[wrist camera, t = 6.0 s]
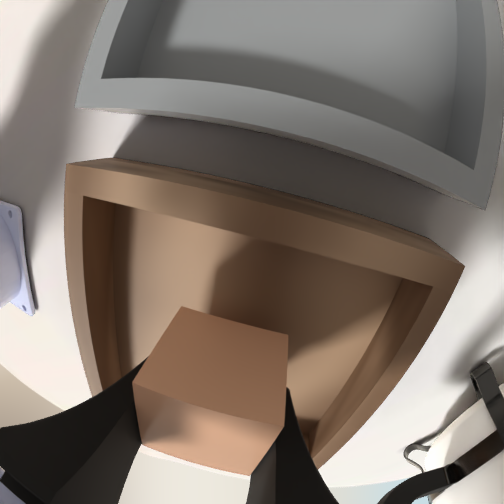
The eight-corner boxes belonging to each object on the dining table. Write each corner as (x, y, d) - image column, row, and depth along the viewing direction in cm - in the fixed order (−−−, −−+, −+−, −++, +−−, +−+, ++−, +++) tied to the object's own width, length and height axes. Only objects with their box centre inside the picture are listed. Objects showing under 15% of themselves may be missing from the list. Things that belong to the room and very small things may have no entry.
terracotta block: (175, 375, 11) (142, 445, 7) (181, 305, 10) (131, 382, 6) (261, 399, 11) (249, 475, 7) (288, 334, 10) (284, 426, 6)
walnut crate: (116, 377, 15) (96, 407, 13) (112, 157, 10) (66, 163, 8) (317, 433, 15) (317, 469, 12) (428, 238, 10) (465, 266, 7)
